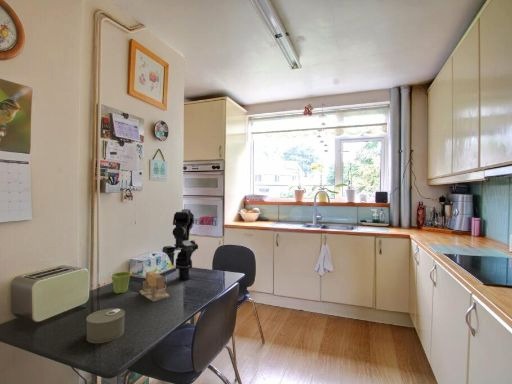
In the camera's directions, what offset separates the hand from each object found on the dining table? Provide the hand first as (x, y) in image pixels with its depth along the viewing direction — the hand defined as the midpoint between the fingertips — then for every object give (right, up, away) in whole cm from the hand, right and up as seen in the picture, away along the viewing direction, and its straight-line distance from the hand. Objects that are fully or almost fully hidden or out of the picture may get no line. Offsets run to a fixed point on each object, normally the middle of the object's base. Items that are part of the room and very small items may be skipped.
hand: (180, 263), depth 147 cm
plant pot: (-28, -12, -10) cm, 32 cm away
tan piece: (-9, -12, -14) cm, 20 cm away
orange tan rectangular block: (-9, -7, -14) cm, 18 cm away
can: (-12, -12, -51) cm, 54 cm away
